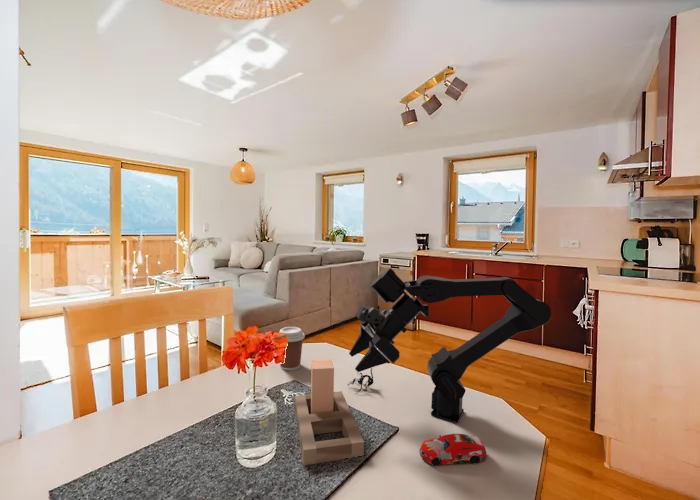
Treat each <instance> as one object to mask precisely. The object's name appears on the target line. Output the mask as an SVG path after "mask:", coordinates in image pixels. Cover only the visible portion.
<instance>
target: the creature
mask: <svg viewBox="0 0 700 500" xmlns="http://www.w3.org/2000/svg"><path fill="white" fill-rule="evenodd" d="M372 371H373V367H372V368H370V374H371V376H370V375H368V374H364V375H363V373H362V372H359V373H358V376H360V377H359V378H353V380H352V381H349V382H348V384H347V385H354V384H355V385H360V389H359V390H356V392H355V393H354V395H355V394H359V392H361V391H364V392H366V391H367V390H368V388H370V386H372V385H373V384H374V378H375V377H374V376H373V372H372ZM365 378H368V379H367V381H366V382H365V383H363V382H364V379H365ZM356 382H357V383H356ZM363 385H364V386H366V387H365V389H363ZM362 389H363V390H362Z"/></svg>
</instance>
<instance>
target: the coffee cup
mask: <svg viewBox="0 0 700 500" xmlns="http://www.w3.org/2000/svg"><path fill="white" fill-rule="evenodd" d="M278 333H284V334H285V335H286V337H287V338H288V346H287V349H286V358H285V363H284V364H280V363H279V366H280V369H281V370H285V371H294V370H297V369H299V368H301V363H302V362H301V361H302V352H303V351H302V350H303V340H304V339H305V337H306V335H305V333H304V332H303V331H302V329H301V328H300V327H298V326H297V327H296V326H285V327H283V328H281V329H279V332H278ZM282 338H283V337H282Z"/></svg>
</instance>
